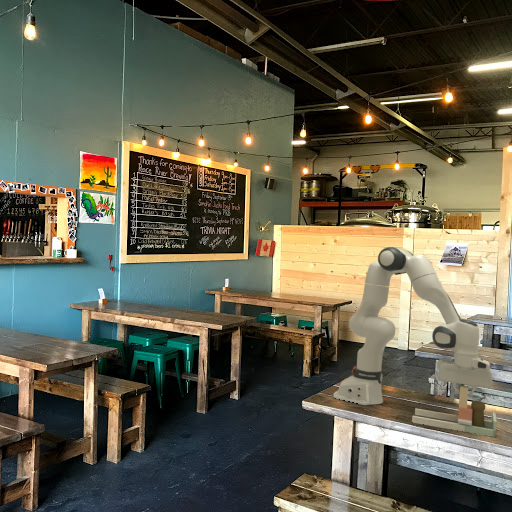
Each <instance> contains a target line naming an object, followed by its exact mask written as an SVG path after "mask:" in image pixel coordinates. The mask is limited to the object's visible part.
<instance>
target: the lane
mask: <svg viewBox="0 0 512 512" xmlns="http://www.w3.org/2000/svg"><path fill="white" fill-rule="evenodd" d="M411 416H412V418H411V423H412V422H413V423H414V424H417V425H423V424H424V426H431V427H436V428H441V429H445V430H451V429H452V431H457V430H458V432H462V431H463V432H464V433H468V432H469V434H474V433H476V434H475V435H479V434H482V435H481V436H485V435H487V436H486V437H490V436H492V437H491V438H496V437H497V424H498V423H497V422H498V421H497V415H496V412H492V417H491V418H492V419H491V420H487V419H484V421H485V426H486V427H485V428H481V427H475V426H470V425H464V424H458V414H452V413H445V412H439V411H435V410H429V409H428V410H427V409H423V408H422V409H421V408H416V407H415V409H414V415H411ZM489 427H490V428H489Z"/></svg>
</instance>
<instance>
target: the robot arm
mask: <svg viewBox="0 0 512 512" xmlns="http://www.w3.org/2000/svg"><path fill="white" fill-rule="evenodd" d="M402 274H407V276H408V278H409V281H410V284H411V286H412V288H413V291H414V292H415V294H416V295H417V297H419V298H420V299H421V300H424V301H427V302H429V303H431V304H433V305H434V306H435V307H436V308H437V309H438V310H439V313H440V314H441V317H442V318H443V320H444V322H445V324H442V325H439V326H437V327H435V328H434V329H433V332H432V334H431V335H432V336H431V337H432V341H433V343H434V345H435V346H436V347H438V348H440V349H445V350H448V349H453V350H454V353H453V358H446V357H441V358H439V359H438V360H437V368H438V372H437V379H438V381H440V382H445V383H452V384H451V385H452V387H453V389H454V395H460V388H459V389H457V384H459V385H464V386H472V389H471V391H470V390H468V397H471V398H472V397H473V396H474V392H475V391H476V390H477V387H480V388H487V389H491V388H492V387H493V375H492V370H491V369H490V367H491V364H490V362H489V361H487V360H486V359H484V358H480V357H479V351H478V348H479V345H480V329H479V325H478V324H477V322H475V321H474V320H471V319H465V318H461V317H460V315H459V313H458V311H457V309H456V307H455V305H454V303H453V301H452V300H451V298H450V296H449V294H448V293H447V291H446V289H445V288H444V287H443V285H442V284H441V281H440V279H439V278H438V277H439V276H438V275H437V272H436V271H435V268H434V266H433V265H432V263H431V261H430V260H429V258H428V257H427V256H426V255H425V254H421V253H418V254H417V253H416V254H413V253H412V252H411V251H409V250H406V249H404V248H401V247H394V246H388V247H384V248H382V249H381V250H380V252H379V253H378V255H377V260H376V261H373V262H371V263H369V265H368V269H367V272H366V275H365V281H364V288H363V294H362V298H361V299H362V300H361V301H360V305H359V307H358V309H357V311H356V312H355V313H354V314H353V315H352V316H351V317H350V318H349V320H348V327H349V330H350V331H351V332H352V333H353V334H354V335H355V336H358V337H360V338H361V337H362V338H364V339H365V340H364V344H363V346H362V347H361V348H359V350H358V351H357V357H356V365H355V366H353V368H352V370H351V374H352V375H350V376H349V377H347V378H345V379H344V380H343V381H341V382H340V383H339V386H338V387H339V388H338V390H336V391H335V392H334V393H333V396H332V398H334V399H335V398H336V399H335V400H339V399H340V401H343V400H345V401H344V402H348V401H350V402H349V403H352V402H354V403H353V404H356V403H358V404H357V405H362V406H369V405H380V404H383V403H384V399H383V393H382V392H383V391H382V381H383V370H382V364H383V357H384V356H383V355H384V351H385V348H386V346H387V344H388V343H389V342H390V341H392V340H393V339H394V337H395V334H396V327H395V326H396V325H395V324H394V322H392V321H391V320H389V319H387V318H385V317H382V316H379V313H380V311H381V310H382V308H383V307H385V306H386V305H387V304H388V298H389V293H390V284H391V278H392V277H393V275H395V276H397V275H402Z"/></svg>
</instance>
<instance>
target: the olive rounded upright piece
mask: <svg viewBox="0 0 512 512" xmlns="http://www.w3.org/2000/svg"><path fill="white" fill-rule="evenodd" d="M470 403H471V404H470V406H471V408H472V426H475V427H481V428H486V427H485V421H484V420H485V413H484V412H485V410H486V403H485V402H483V401H480V400H473V401H472V402H470Z"/></svg>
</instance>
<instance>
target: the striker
mask: <svg viewBox="0 0 512 512" xmlns="http://www.w3.org/2000/svg"><path fill="white" fill-rule="evenodd" d="M468 398H469V385H462V384H459V398H458V411H457V412H458V414H457V415H458V422H457V423H458V424H464V425H470V426H472V408H471V404H469V405H468Z"/></svg>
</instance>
